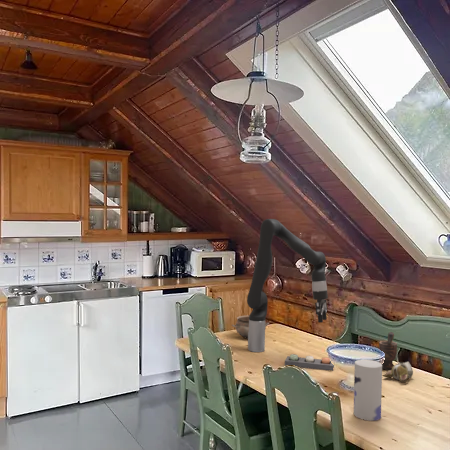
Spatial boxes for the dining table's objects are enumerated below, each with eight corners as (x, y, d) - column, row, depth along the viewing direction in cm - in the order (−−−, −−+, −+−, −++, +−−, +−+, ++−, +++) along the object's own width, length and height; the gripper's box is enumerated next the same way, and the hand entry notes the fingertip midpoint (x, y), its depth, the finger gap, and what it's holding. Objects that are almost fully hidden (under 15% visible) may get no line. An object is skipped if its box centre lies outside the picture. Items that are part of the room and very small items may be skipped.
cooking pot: (236, 342, 283) (237, 322, 283) (226, 335, 301) (226, 316, 301) (274, 340, 292) (275, 320, 291) (262, 333, 309) (262, 314, 309)
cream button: (305, 362, 239) (305, 357, 239) (306, 360, 243) (306, 355, 243) (313, 363, 238) (313, 358, 238) (313, 361, 242) (314, 356, 242)
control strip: (284, 365, 240) (284, 360, 240) (287, 360, 248) (287, 356, 248) (333, 370, 233) (333, 365, 233) (334, 365, 242) (334, 360, 242)
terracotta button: (321, 364, 237) (321, 359, 237) (321, 362, 241) (322, 357, 241) (329, 365, 236) (329, 360, 236) (329, 363, 240) (330, 357, 240)
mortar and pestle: (403, 372, 232) (404, 332, 232) (387, 373, 231) (388, 332, 231) (390, 365, 244) (391, 327, 244) (375, 366, 242) (376, 327, 242)
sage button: (289, 361, 241) (289, 355, 241) (290, 359, 245) (290, 353, 245) (297, 362, 240) (297, 356, 240) (298, 359, 244) (298, 354, 244)
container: (349, 410, 184) (350, 359, 184) (374, 410, 185) (375, 359, 185) (359, 421, 174) (360, 367, 174) (385, 420, 175) (386, 367, 175)
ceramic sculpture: (419, 360, 223) (402, 368, 213) (419, 378, 223) (402, 387, 214) (398, 355, 231) (381, 363, 222) (398, 373, 232) (381, 381, 222)
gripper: (316, 288, 254) (318, 319, 253) (309, 291, 241) (312, 323, 240) (330, 288, 251) (332, 318, 250) (323, 290, 238) (326, 323, 237)
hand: (322, 321), depth 245 cm, fingers open, 8 cm apart
